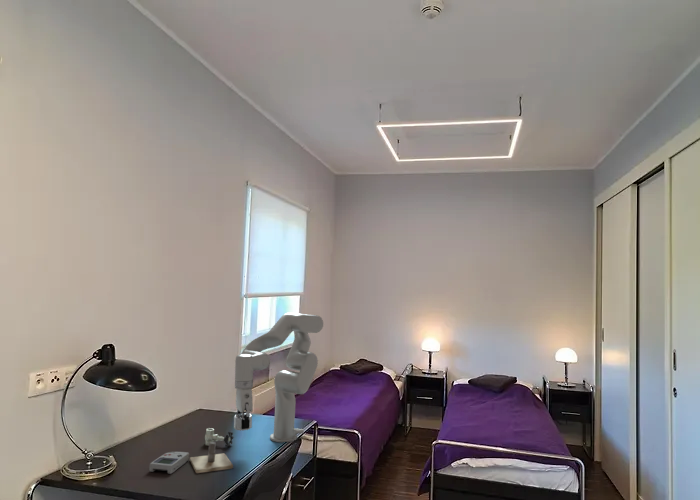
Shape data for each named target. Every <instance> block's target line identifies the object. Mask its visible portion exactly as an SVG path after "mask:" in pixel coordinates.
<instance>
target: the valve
mask: <svg viewBox="0 0 700 500" xmlns="http://www.w3.org/2000/svg"><path fill="white" fill-rule="evenodd" d="M233 435H234V432H231V431H228V432H227V434H225V436H223V435H219V434H218V433H217V434H215V429H214V428H212V427H211V428H210V427H208V428H206V432H205V435H204V440H205V446H208V447H209V443H211V442H218V441H220V442H221V441H222V442H223V441H224V443H225V447H227V448H230V447H231V445H233V440H234V436H233Z"/></svg>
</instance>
